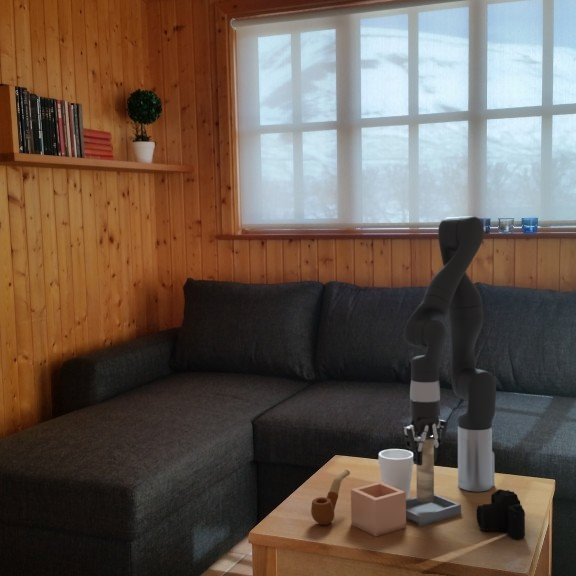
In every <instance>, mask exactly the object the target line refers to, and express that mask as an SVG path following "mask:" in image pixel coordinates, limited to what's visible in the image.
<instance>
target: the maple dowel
mask: <svg viewBox="0 0 576 576" xmlns="http://www.w3.org/2000/svg"><path fill="white" fill-rule="evenodd" d="M418 438H421V437H419V436H418ZM417 446H418V441H417ZM421 451H422V465H416V497H417V501H419V502H424V503H428V502H433V501H434V494H435V462H434V439H433V438H430V437H426V438H425V442H424V443H423V445H422V449H421Z"/></svg>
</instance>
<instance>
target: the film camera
mask: <svg viewBox="0 0 576 576" xmlns="http://www.w3.org/2000/svg"><path fill="white" fill-rule="evenodd" d="M490 497H491V498H490V502H491V503H487V504H486V503H483V504H481V505H478V506H477V509H476V522H477V525H478V528H479V529H480V530H481V531H483V530H484V531H487V532H488V531H499V532H502V533H505V532H506V533H507V534H508V535H509V536H510V538H512V539H516V540H519V539H524V538H525V536H526V524H525V523H526V517H525V516H526V514H525V513H526V511H525V509H524V508H523V505H522V504H521V500H520V498H519V497H518V495H517V493H515V492H514V491H511V490H509V489H507V490H506V489H502V488H501V489H497V491H495V492H493V493H492V494H491V496H490Z"/></svg>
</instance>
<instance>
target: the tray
mask: <svg viewBox="0 0 576 576" xmlns="http://www.w3.org/2000/svg"><path fill="white" fill-rule="evenodd" d="M461 514H462V504H460V503H458V502H455V501H453V500H450V499H449V498H446V497H443V496H442V495H438V494H436V493H434V501H433V502H428V503H424V502H419V501H417V496H415V497H411V498H410V497H409V499H407V500H406V522H407V521H408V522H409V523H412V524H413V525H416V526H418V527H423V526H427V525H430V524H433V523H437V522H440V521H443V520H445V519H446V520H447V519H449V518H452V517H457V516H459V515H461Z"/></svg>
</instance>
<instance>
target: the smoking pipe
mask: <svg viewBox="0 0 576 576" xmlns="http://www.w3.org/2000/svg"><path fill="white" fill-rule="evenodd" d="M350 474H351V472H350V470H349V469H344V471H342V472H341V473H339V474H338V475H337V476H336V477H334V479H333V481H332V483H331V486H330V488H329V492H328V493H327V496H326V497H325V496H320V497H316V498H314V499H312V502H311V510H310V511H311V512H310V513H311V517H312V519H313V520H314V521H315V523H317V524H319V525H321V526H327V525H330V524H331V523H332V522H333V521H334V518H335V509H336V505H337V501H338V498H339V493H340V492H339V491H340V488H341V484H342V482H343V480H344V479H345V478H347V477H349V476H350Z"/></svg>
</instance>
